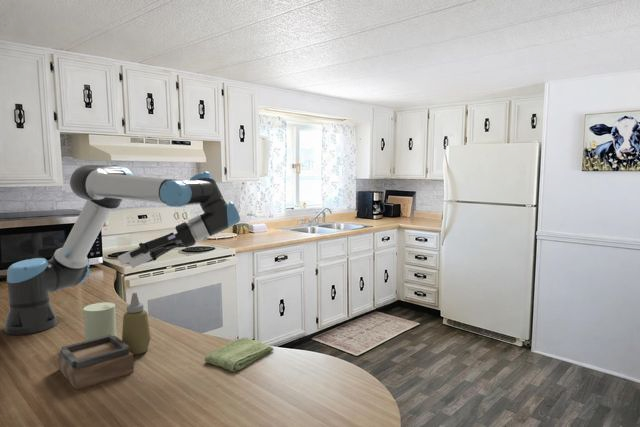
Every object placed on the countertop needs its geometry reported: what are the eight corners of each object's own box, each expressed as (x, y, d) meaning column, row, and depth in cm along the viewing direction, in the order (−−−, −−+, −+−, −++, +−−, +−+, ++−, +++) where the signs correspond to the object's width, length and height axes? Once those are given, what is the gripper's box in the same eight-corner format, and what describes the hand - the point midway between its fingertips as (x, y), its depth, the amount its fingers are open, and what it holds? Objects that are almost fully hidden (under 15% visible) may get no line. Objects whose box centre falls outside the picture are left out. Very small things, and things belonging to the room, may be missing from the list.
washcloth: (275, 352, 129) (275, 342, 129) (235, 375, 114) (234, 364, 114) (243, 343, 136) (243, 333, 136) (201, 364, 121) (200, 353, 121)
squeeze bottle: (128, 346, 132) (125, 290, 131) (154, 345, 133) (152, 289, 131) (118, 357, 124) (115, 297, 123) (146, 356, 125) (144, 296, 123)
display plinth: (59, 369, 117) (57, 346, 116) (112, 354, 126) (111, 333, 126) (76, 390, 105) (75, 365, 105) (133, 371, 115) (132, 348, 115)
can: (103, 348, 131) (101, 310, 130) (78, 346, 133) (75, 308, 132) (123, 337, 140) (121, 301, 139) (98, 335, 142) (97, 300, 141)
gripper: (193, 237, 121) (120, 271, 115) (199, 247, 145) (139, 275, 139) (182, 213, 122) (108, 247, 116) (190, 227, 146) (129, 255, 140)
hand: (125, 262), depth 128 cm, fingers open, 13 cm apart
